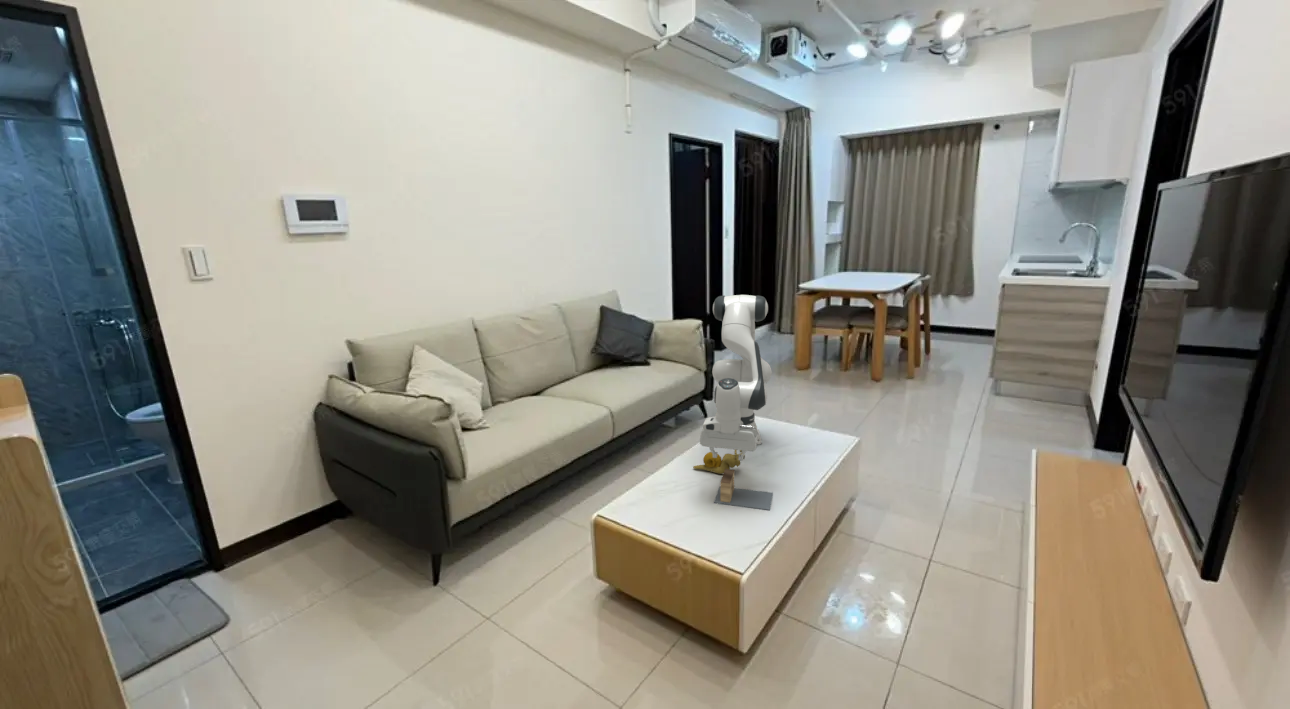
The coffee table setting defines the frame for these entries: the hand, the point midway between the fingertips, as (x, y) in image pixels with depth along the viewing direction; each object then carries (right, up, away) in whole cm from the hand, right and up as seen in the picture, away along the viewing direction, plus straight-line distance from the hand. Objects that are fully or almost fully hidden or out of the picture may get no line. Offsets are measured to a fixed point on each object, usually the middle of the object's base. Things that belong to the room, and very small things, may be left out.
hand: (727, 458), depth 193 cm
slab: (0, -14, +4) cm, 15 cm away
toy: (0, -10, +23) cm, 25 cm away
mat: (+6, -15, +2) cm, 16 cm away
